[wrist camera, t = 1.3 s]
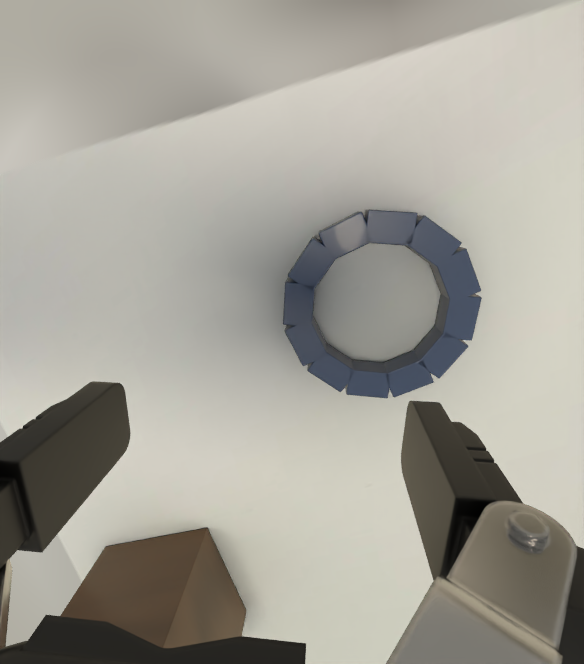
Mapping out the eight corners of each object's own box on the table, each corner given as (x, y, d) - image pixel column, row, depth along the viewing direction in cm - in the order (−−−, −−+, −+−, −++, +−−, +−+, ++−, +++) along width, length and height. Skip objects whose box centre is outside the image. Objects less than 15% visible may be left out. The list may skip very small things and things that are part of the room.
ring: (256, 262, 24) (250, 267, 22) (430, 175, 21) (439, 172, 20) (331, 408, 27) (331, 421, 25) (492, 345, 24) (504, 355, 23)
